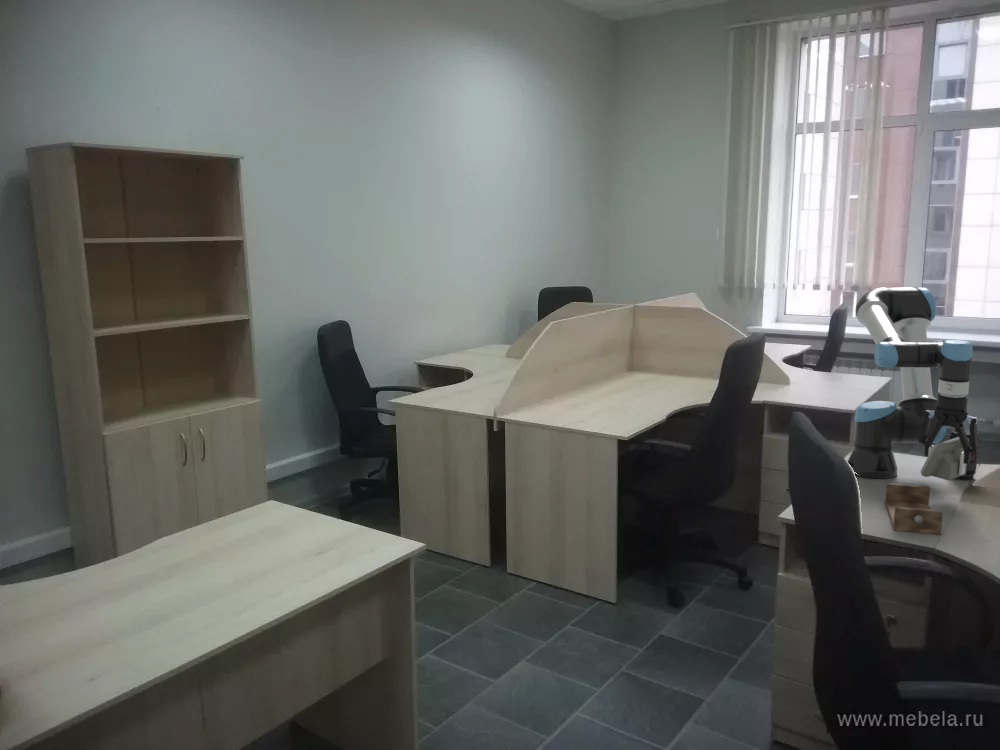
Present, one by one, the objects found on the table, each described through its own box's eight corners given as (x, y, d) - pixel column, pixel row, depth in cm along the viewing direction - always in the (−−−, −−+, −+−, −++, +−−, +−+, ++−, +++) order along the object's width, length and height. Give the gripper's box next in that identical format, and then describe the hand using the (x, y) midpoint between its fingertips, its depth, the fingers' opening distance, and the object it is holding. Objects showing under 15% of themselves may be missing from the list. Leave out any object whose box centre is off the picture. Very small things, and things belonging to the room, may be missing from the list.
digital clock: (951, 466, 231) (954, 432, 229) (978, 475, 223) (982, 439, 221) (910, 473, 226) (913, 438, 224) (936, 483, 217) (940, 447, 215)
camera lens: (975, 475, 247) (980, 430, 245) (975, 482, 241) (979, 436, 238) (947, 471, 252) (950, 427, 249) (945, 478, 245) (949, 433, 242)
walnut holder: (926, 505, 222) (928, 485, 221) (941, 536, 200) (943, 514, 199) (884, 501, 226) (886, 481, 225) (894, 531, 204) (896, 509, 203)
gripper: (909, 391, 224) (903, 466, 229) (990, 402, 209) (981, 481, 214) (918, 387, 229) (912, 460, 234) (998, 397, 214) (989, 475, 219)
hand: (945, 470), depth 224 cm, fingers closed on digital clock, 8 cm apart
